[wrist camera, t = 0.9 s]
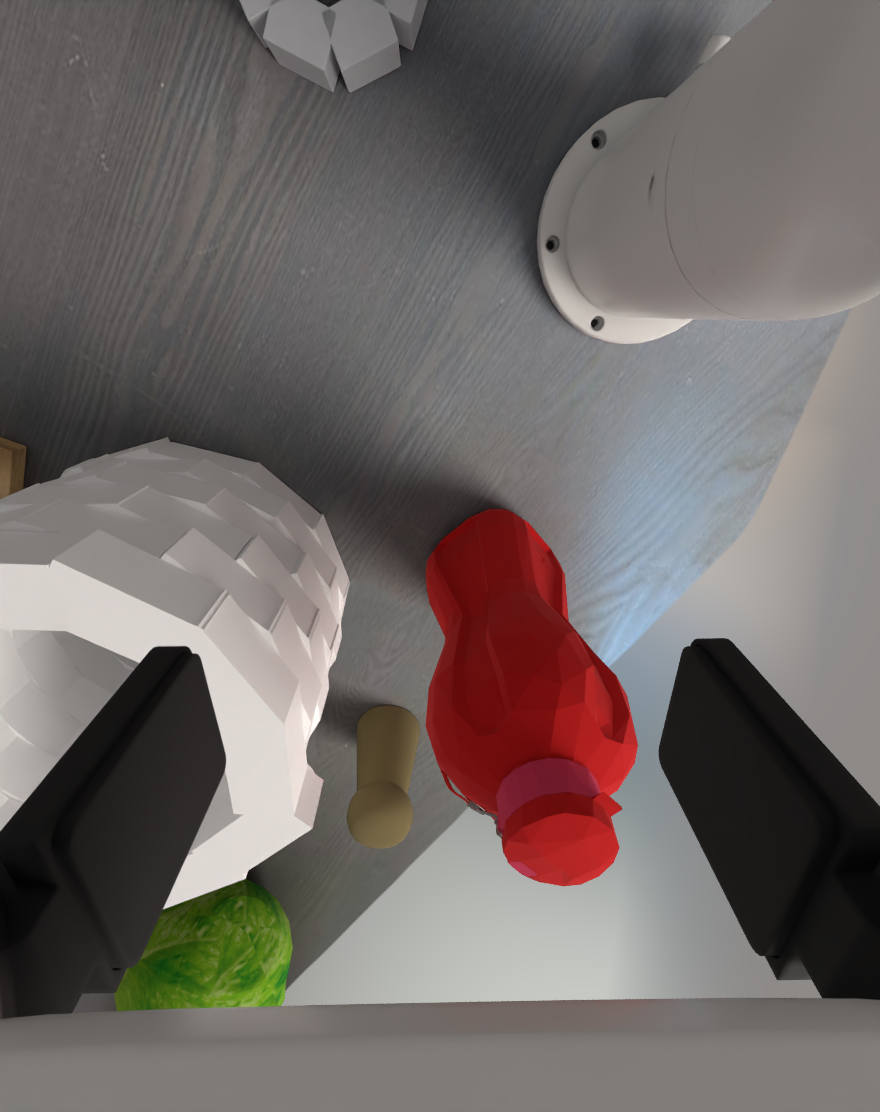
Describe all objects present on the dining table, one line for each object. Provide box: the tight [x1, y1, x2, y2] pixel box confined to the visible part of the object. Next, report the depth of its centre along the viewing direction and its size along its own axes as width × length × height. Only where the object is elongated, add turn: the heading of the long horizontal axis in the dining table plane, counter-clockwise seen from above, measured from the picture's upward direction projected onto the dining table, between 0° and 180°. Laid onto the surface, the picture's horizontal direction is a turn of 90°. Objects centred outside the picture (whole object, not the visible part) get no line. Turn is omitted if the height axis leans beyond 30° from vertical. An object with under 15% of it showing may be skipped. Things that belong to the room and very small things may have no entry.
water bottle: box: [426, 509, 638, 886], centre depth 31 cm, size 9×11×25 cm
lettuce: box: [114, 879, 293, 1011], centre depth 53 cm, size 17×20×15 cm
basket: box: [0, 437, 350, 909], centre depth 33 cm, size 25×24×19 cm
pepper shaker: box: [347, 705, 420, 849], centre depth 44 cm, size 6×6×11 cm
